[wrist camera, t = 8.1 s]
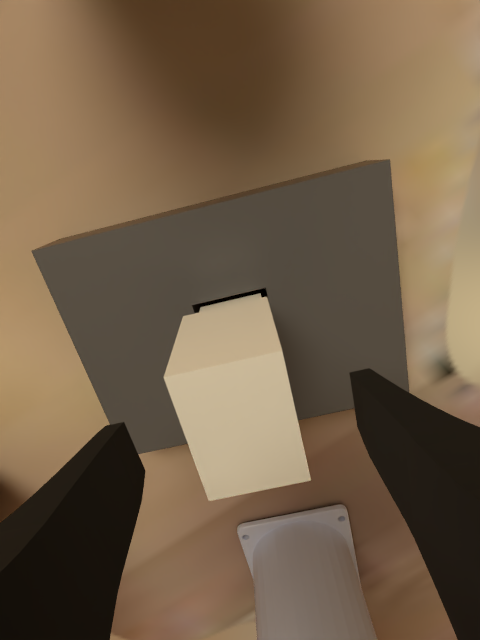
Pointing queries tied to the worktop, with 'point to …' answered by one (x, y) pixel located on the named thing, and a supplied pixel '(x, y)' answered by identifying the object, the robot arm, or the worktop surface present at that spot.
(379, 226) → the socket block
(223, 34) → the worktop surface
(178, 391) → the plug
